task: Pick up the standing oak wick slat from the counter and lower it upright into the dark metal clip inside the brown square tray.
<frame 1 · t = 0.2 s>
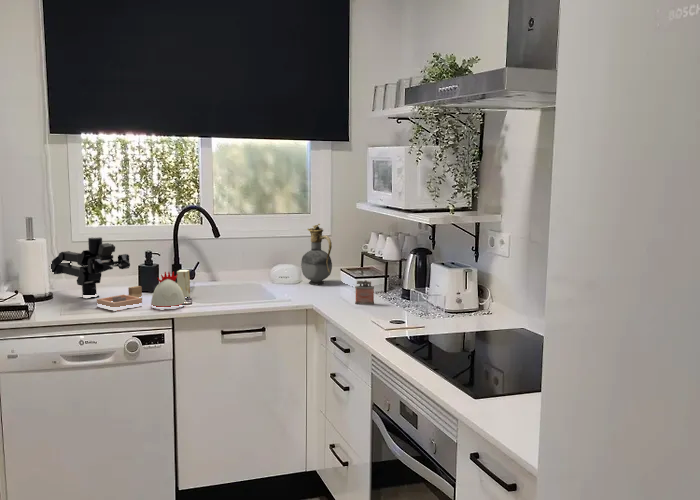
hand: (120, 266, 283), 17 cm above the countertop, tool horizontal, fingers open, 9 cm apart
skincare box: (184, 297, 300), on the countertop
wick: (135, 300, 294), on the countertop
lighter: (364, 304, 284), on the countertop
pitcher: (318, 284, 330), on the countertop
grey crested dome: (168, 307, 281), on the countertop
brown square tray: (119, 306, 281), on the countertop
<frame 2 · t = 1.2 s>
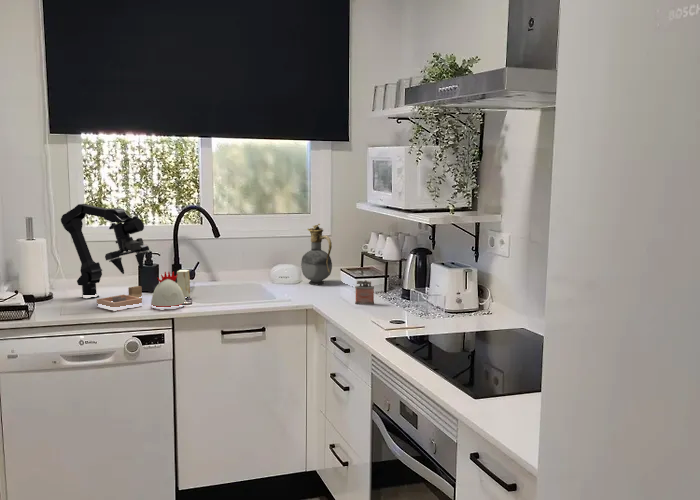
hand: (132, 271, 290), 13 cm above the countertop, tool tilted 15°, fingers open, 9 cm apart
nothing on the countertop moved.
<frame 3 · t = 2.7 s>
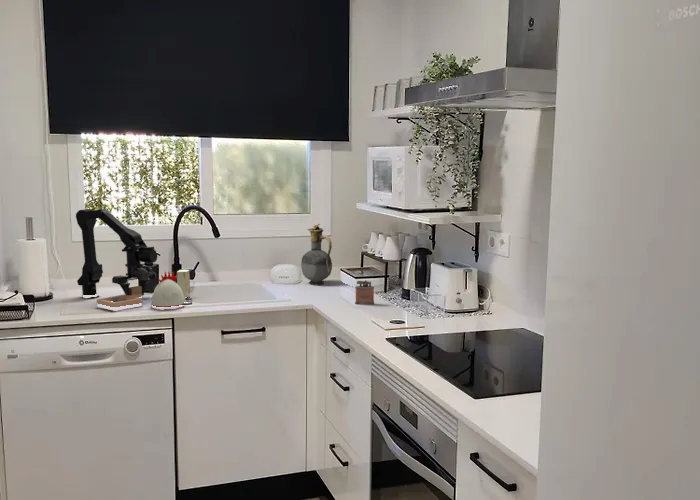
hand: (135, 296, 294), 2 cm above the countertop, tool pointing down, fingers open, 7 cm apart
nothing on the countertop moved.
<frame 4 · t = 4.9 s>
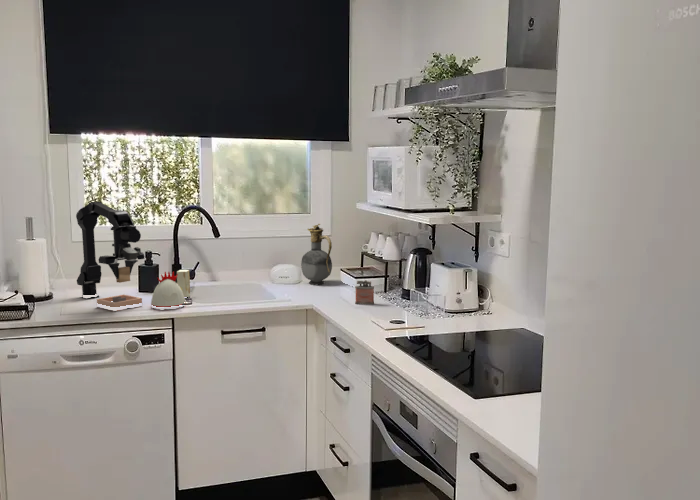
hand: (123, 277, 282), 12 cm above the countertop, tool pointing down, fingers closed on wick, 5 cm apart
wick: (123, 281, 282), point 10 cm above the countertop, touching gripper
everything else where it was.
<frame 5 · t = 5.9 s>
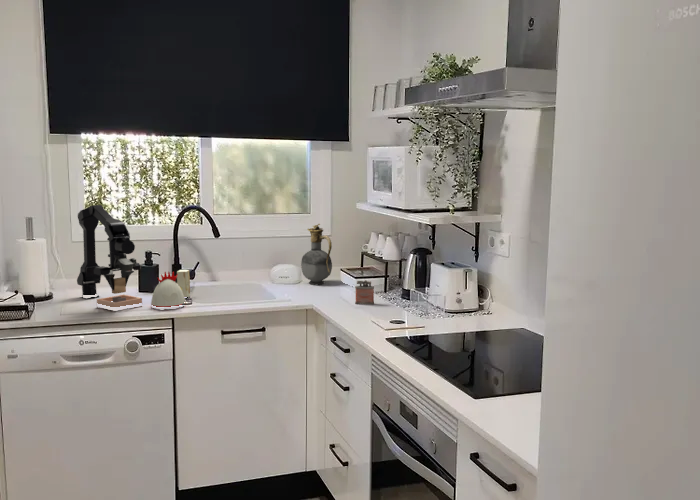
hand: (118, 288, 280), 8 cm above the countertop, tool pointing down, fingers closed on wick, 5 cm apart
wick: (119, 292, 280), point 6 cm above the countertop, touching gripper
everything else where it was.
when the fingers open (4 cm above the countertop, at t = 6.8 s): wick drops 2 cm, resting on brown square tray.
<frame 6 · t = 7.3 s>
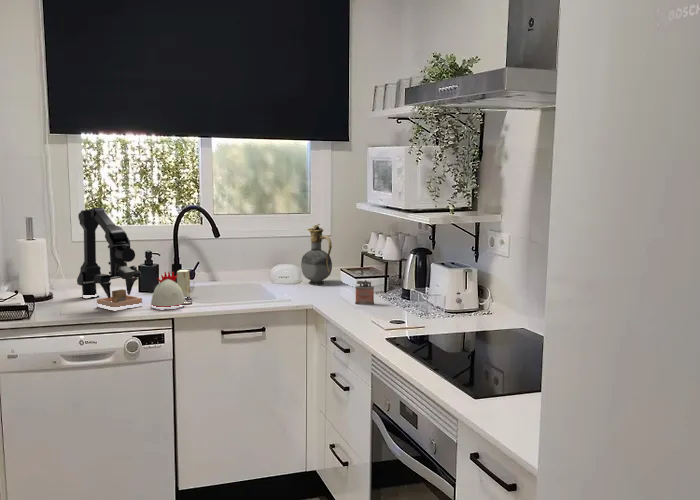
hand: (119, 296, 280), 4 cm above the countertop, tool pointing down, fingers open, 9 cm apart
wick: (119, 304, 280), point 1 cm above the countertop, touching brown square tray
everything else where it was.
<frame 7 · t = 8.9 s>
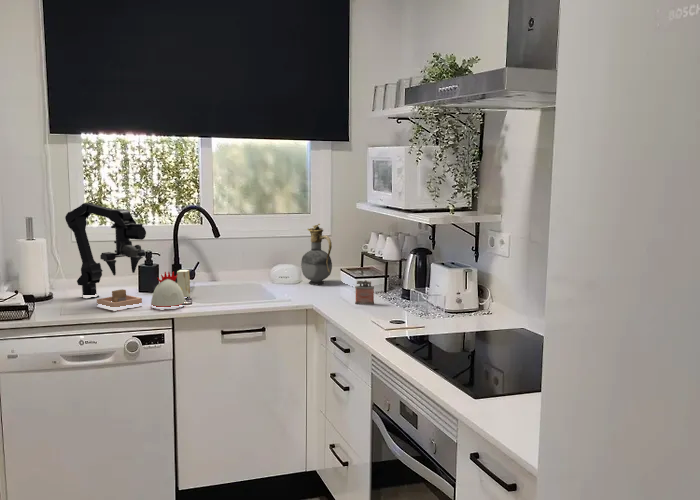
hand: (124, 274, 292), 12 cm above the countertop, tool pointing down, fingers open, 9 cm apart
nothing on the countertop moved.
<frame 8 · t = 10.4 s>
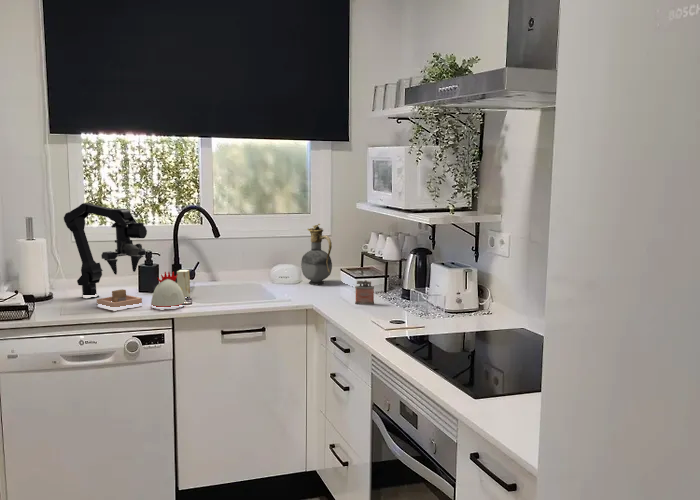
hand: (125, 273, 293), 12 cm above the countertop, tool pointing down, fingers open, 9 cm apart
nothing on the countertop moved.
at the end: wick 0.0 cm off-centre on the brown square tray, point 1.0 cm above the brown square tray's base; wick tilted 0°; the gripper is holding nothing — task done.
